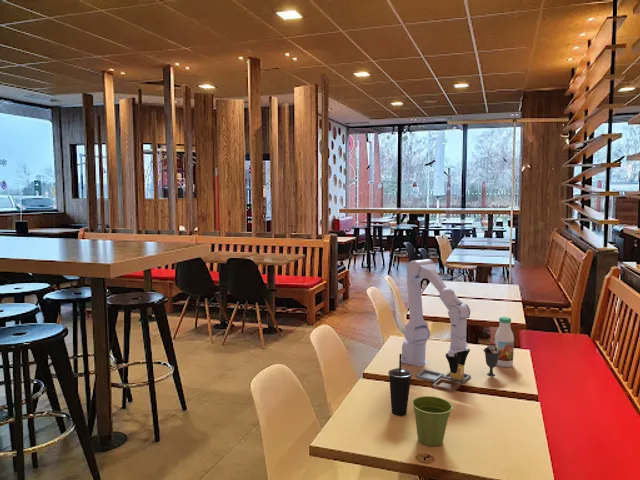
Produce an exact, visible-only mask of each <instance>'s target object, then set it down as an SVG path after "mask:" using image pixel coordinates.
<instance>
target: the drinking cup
mask: <svg viewBox="0 0 640 480" xmlns="http://www.w3.org/2000/svg"><path fill="white" fill-rule="evenodd" d="M401 361H402V353H399V360H398V362H399V363H398V368H392V369H389V371H388V373H387V374H388V376H389V378H388V379H389V391H390V392H389V393H390V406H391V414H392V415H394V416H396V417H403V416H406V415H407V413H408V404H409V395H410V388H411V380H412V379H411V378H412V376H413V373H412V372H411V371H410V370H408V369H406V368H402V363H401Z"/></svg>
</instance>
